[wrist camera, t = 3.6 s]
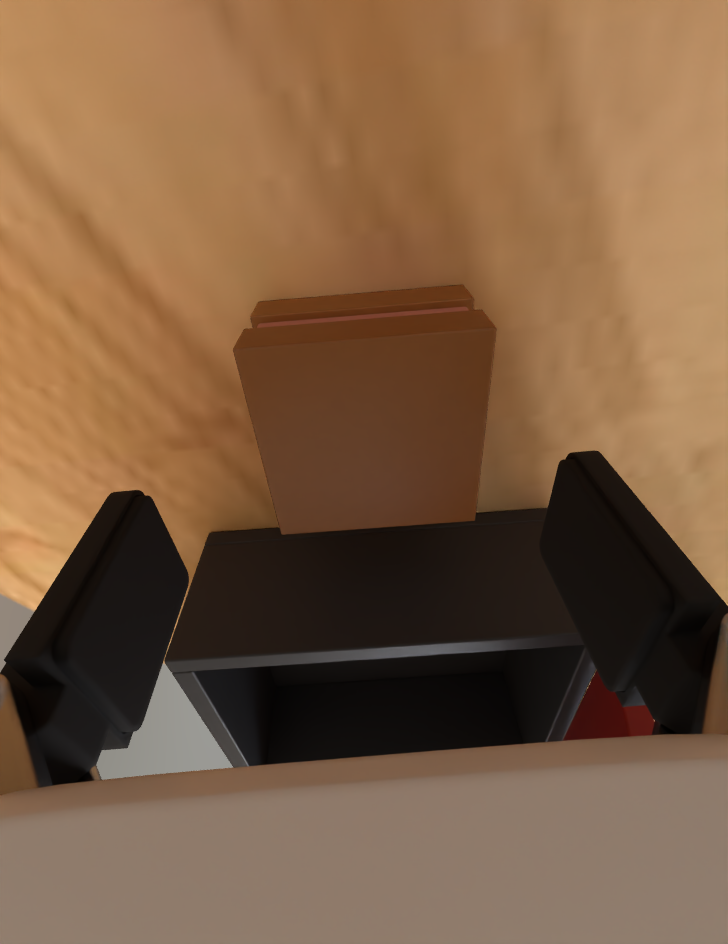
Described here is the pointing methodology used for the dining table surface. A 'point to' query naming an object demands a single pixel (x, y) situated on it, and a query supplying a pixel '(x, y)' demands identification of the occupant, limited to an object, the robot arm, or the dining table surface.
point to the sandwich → (369, 406)
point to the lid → (607, 716)
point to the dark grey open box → (379, 641)
